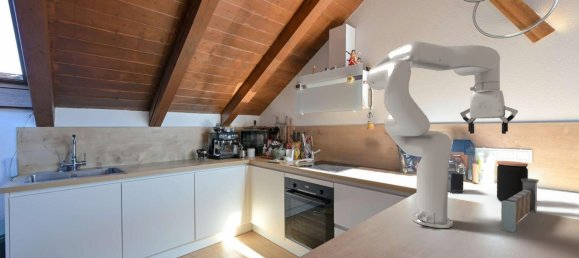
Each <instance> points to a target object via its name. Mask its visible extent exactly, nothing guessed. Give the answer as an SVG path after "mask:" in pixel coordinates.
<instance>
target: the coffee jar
mask: <svg viewBox="0 0 579 258" xmlns="http://www.w3.org/2000/svg"><path fill="white" fill-rule="evenodd" d="M496 164H497V167H496V199H497V200H498V201H499V202H502V201H504V200H505V201H507V199H509V198H510V197H512V196H514V195H516V194H517V193H519V192H521V191H523V182H522V181H521V179H522V178H529V168H528V167H529V163H527V162H521V161H507V160H498V161H497V162H496Z"/></svg>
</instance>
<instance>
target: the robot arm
mask: <svg viewBox="0 0 579 258" xmlns="http://www.w3.org/2000/svg"><path fill="white" fill-rule="evenodd" d="M500 62H501V56H500V54H499V52H498V51H497V50H496V49H494V48H492V47H490V46H485V45H479V44H478V45H476V44H469V45H468V44H466V45H442V44H441V45H440V44H435V43H430V42H425V41H421V40H415V41H414V40H413V41H410V42H407V43H405V44H403V45H401V46H399V47H397V48H395V49H393V50H391V51H390V52H388V54H386V55H385V56H384V57H383V58H382V59H381V60H380V61H378V62H377V63H376V64H375V65H374V66H372V67H371V68H370V69H369V70H368V72H367V74H366V83H367V85H368V86H369V87H370V88H371V89H372V90H376V91H381V90H384V91H383V104H384V107H385V109H386V110H387V112H388V114H387V115H386V116H385V119H384V128H385V131H386V133H387V134H388V135H389V137H390V138H391V139H392V140H393V141H394V143H395V144H397V146H398V147H399V148H400V149H401V151H403V152H404V153H405V154H407V155H409V156H413V157H420V158H421V159H420V161H419V162H418V164H417V168H416V201H415V202H416V206H415V207H416V210H415V211H416V212H414V213H412V214H411V220H412V221H414V222H415V223H416V224H419V225H422V226H425V227H431V228H437V229H447V228H448V229H449V228H452V227H453V226H454V222H453V220H452V219H451V218H450V217H449V218H448V212H449V211H448V210H449V209H448V208H449V206H448V205H449V204H448V203H449V196H448V195H449V192H448V171H449V162H450V158H451V153H452V150H453V149H452V148H453V143H452V142H453V141H452V140H451V137H450V136H449V135H447V134H446V133H444V132H443V131H436V130H430V128H431V123H430V120H429V118H428V116H427V114H425V112H424V111H423V110H422V109H421V108H420V106H419V105H418V104H417V102H416V101H415V99H414V98H413V97H412V96H411V93H410V88H409V87H410V80H411V75H412V69H413V68H416V69H417V68H418V69H424V70H429V71H436V72H439V71H440V72H443V71H451V70H453V72H454V73H455V74H456V75H457V76H460V77H461V76H462V77H464V76H465V77H466V76H474V84H473V86H471V87H469V88H470V89H469V90H470V91H473V93H471V97H470V104H469V105H470V106H469V107H468V108H467V109H465V110H463V111H461V112H460V114H459V115H460V116H461V117H462V120H463V121H465V122H466V123H467V125H468V126H467V128H468V132H469V134H471V135H473V134H475V123H474V122H475V121H476V120H477V119H499V120H501V121H502V123H501V134H502V135H506V134H507V133H508V132H509V122H511V121H512V120H513V119H515V118H516V116H517V114H518V113H519V110H518V109H514V108H512V107H510V106H506V104H505V97H504V93H503V90H501V65H500V64H501V63H500ZM411 68H412V69H411ZM507 111H508V112H510V115H509V116H508V117H506V112H507ZM467 114H469V117H468V116H467Z"/></svg>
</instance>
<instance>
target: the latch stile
mask: <svg viewBox="0 0 579 258" xmlns="http://www.w3.org/2000/svg"><path fill="white" fill-rule="evenodd" d="M500 202H501V201H500ZM500 208H501V209H500V211H501V212H500V214H501V216H500V217H501V218H500V219H501V220H500V223H501V224H500V226H501V227H500V229H501V231H506V232H509V233H515V231H517V228H516V227H517V223H516V202H511V201H505V200H504V201H502V202H501V207H500Z"/></svg>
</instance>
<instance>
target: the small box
mask: <svg viewBox="0 0 579 258" xmlns="http://www.w3.org/2000/svg"><path fill="white" fill-rule="evenodd" d="M464 176H465V175H464V173H462V172H459V171H455V170H448V194H458V195H459V194H460V195H461V194H462V195H464Z"/></svg>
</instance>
